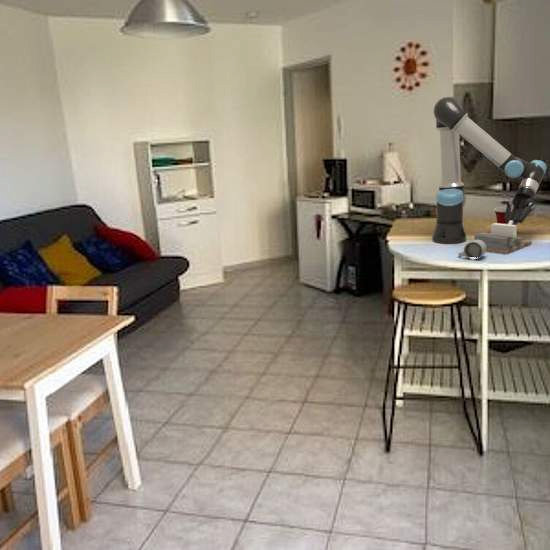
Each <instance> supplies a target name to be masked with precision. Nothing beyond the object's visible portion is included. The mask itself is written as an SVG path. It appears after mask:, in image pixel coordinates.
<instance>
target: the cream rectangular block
mask: <svg viewBox="0 0 550 550" xmlns="http://www.w3.org/2000/svg"><path fill="white" fill-rule="evenodd" d="M517 227H518V224H517V225H510V224H500V223H497V222H494V223H491V227H490V228H491V230H490V234H498V235H507V236H513V239H514V238H517V229H518V228H517Z"/></svg>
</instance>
